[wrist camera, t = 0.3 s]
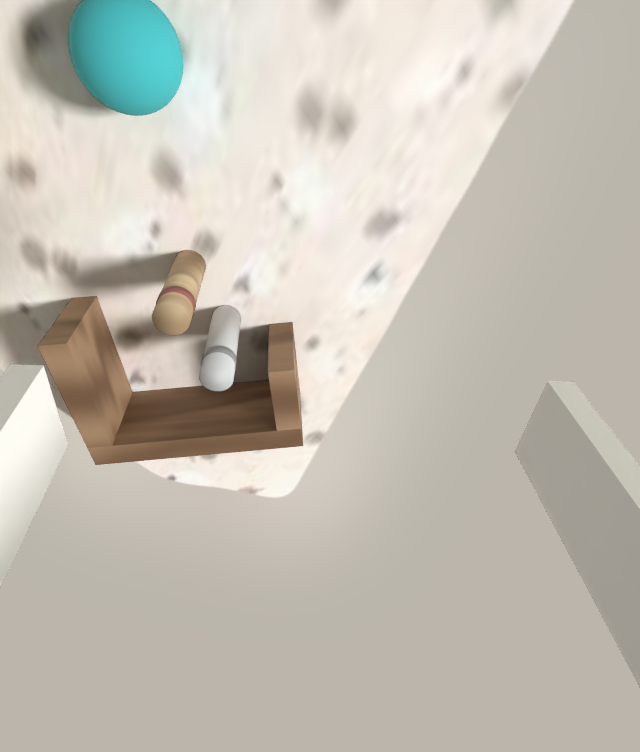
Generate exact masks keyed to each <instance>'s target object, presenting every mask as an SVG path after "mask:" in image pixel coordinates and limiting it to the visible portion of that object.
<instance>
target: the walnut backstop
mask: <svg viewBox="0 0 640 752" xmlns="http://www.w3.org/2000/svg"><path fill="white" fill-rule="evenodd" d="M38 348H39V350H40V352H41V354H42V356H43V358H44V360H45V363H46V365H47V367H48V369H49V371H50V373H51V375H52V377H53V379H54V381H55V383H56V385H57V387H58V389H59V391H60V393H61V395H62V397H63V399H64V401H65V403H66V405H67V407H68V409H69V411H70V413H71V416H72V418H73V420H74V421H75V424H76V426H77V428H78V430H79V432H80V434H81V436H82V438H83V440H84V442H85V444H86V446H87V448H88V450H89V452H90V454H91V456H92V458H93V460H94V462H95V464H96V465H100V464H110V463H122V462H133V461H144V460H155V459H166V458H176V457H187V456H198V455H209V454H220V453H231V452H242V451H253V450H264V449H275V448H286V447H297V446H303V436H302V418H301V401H300V388H299V379H298V370H297V361H296V351H295V342H294V333H293V324H292V322H291V323H279V324H269V351H268V376H269V380H265V381H254V382H242V383H233V384H232V385H231V386H230V387H229V388H228V389H226V390H223V391H212V390H209V389H207V388H206V387H204V386H197V387H186V388H175V389H164V390H152V391H141V392H132V390H131V387H130V384H129V382H128V379H127V376H126V374H125V371H124V368H123V366H122V363H121V360H120V358H119V355H118V352H117V350H116V347H115V344H114V342H113V339H112V336H111V334H110V331H109V328H108V326H107V323H106V320H105V318H104V315H103V312H102V310H101V307H100V304H99V302H98V299H97V296H94V297H82V298H72V299H71V300H70V301H69V303H68V304H67V305H66V307H65V308H64V310H63V311H62V312H61V314H60V315H59V317H58V318H57V319H56V321H55V322H54V324H53V325H52V326H51V328H50V329H49V331H48V332H47V333H46V335H45V336H44V338H43V339H42V340H41V342H40V343H39V345H38Z"/></svg>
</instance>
